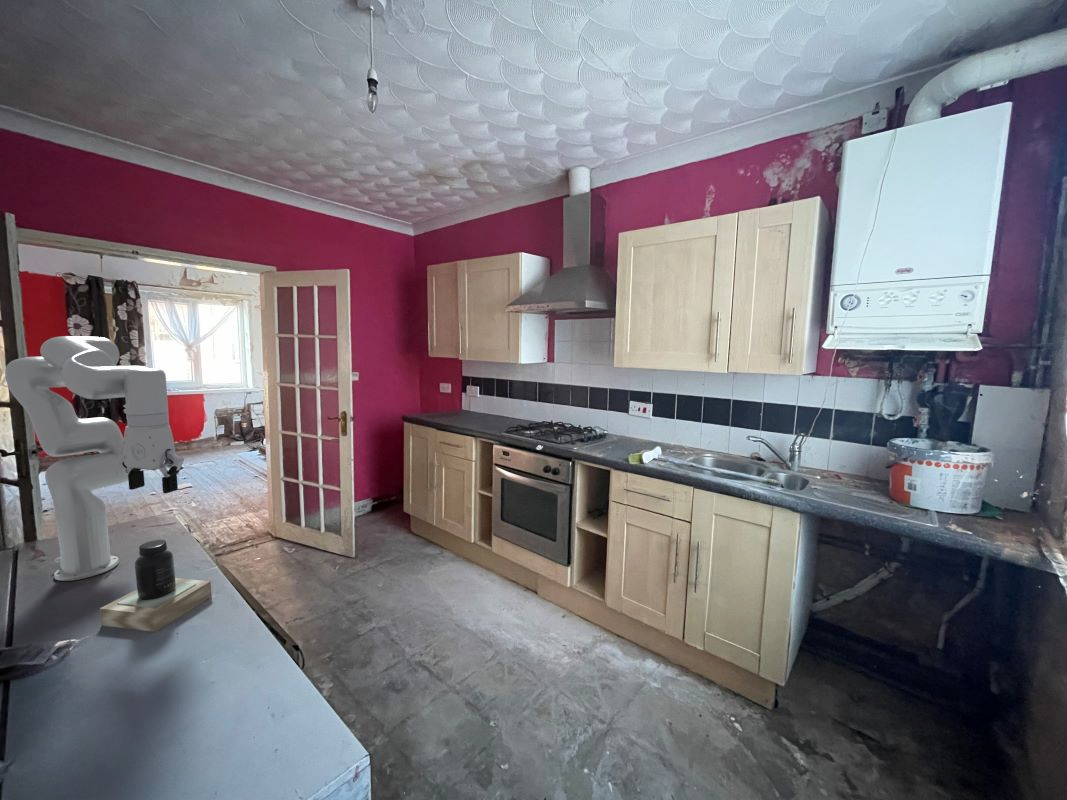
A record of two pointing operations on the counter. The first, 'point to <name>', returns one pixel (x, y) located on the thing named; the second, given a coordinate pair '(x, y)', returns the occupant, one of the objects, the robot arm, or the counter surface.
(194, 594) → the birch stand
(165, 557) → the supplement bottle
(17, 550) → the counter surface
